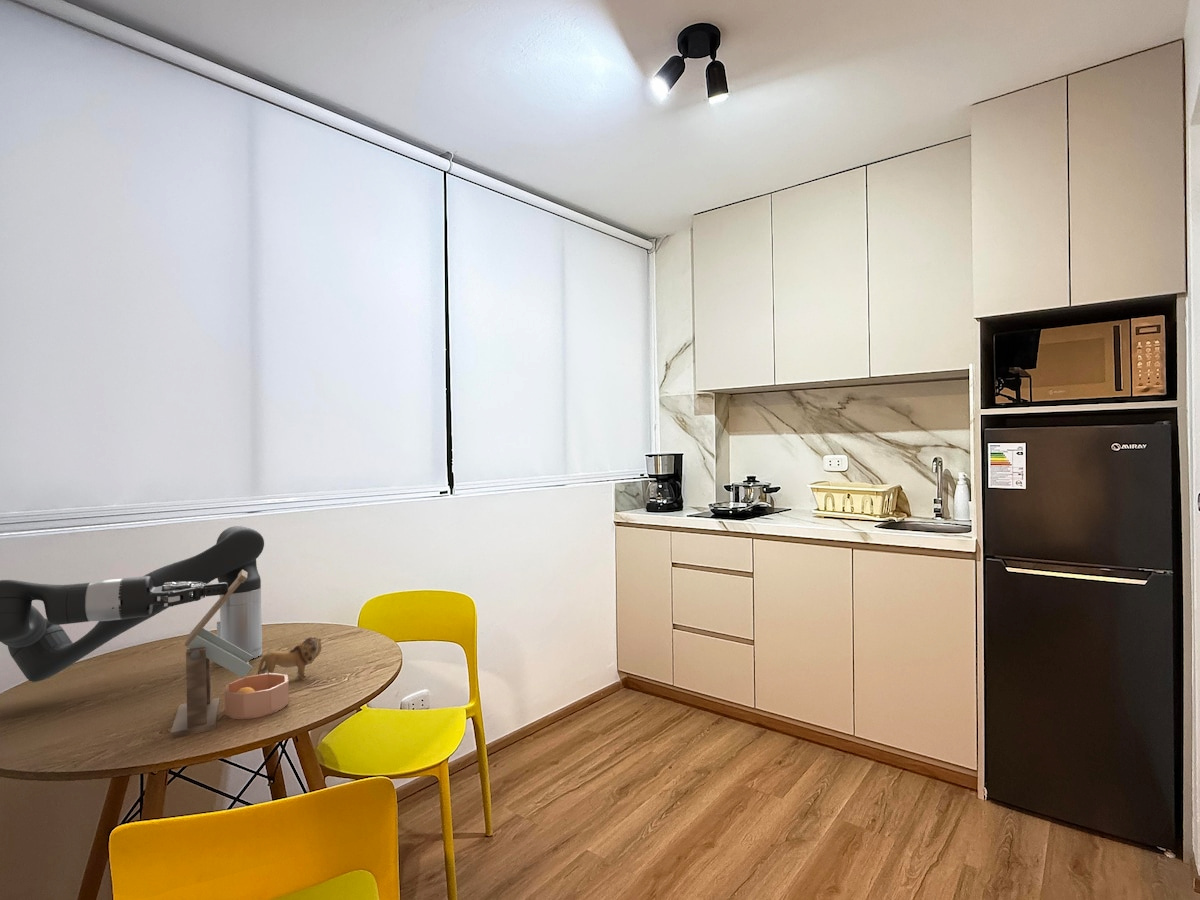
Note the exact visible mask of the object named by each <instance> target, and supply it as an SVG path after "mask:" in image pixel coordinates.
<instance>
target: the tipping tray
mask: <svg viewBox="0 0 1200 900" xmlns="http://www.w3.org/2000/svg"><path fill="white" fill-rule="evenodd" d="M247 574H248V572H246V571H244V570H243V569H242V570H241V572H240V573H239V574H238V577H237V579H236V580H235V581H234V582H233V583H232V584H231V586H230V587H229V588H228V592H227V593H226V594H225V595H222V596H221V597H220V596H219V599H217V601H216V602H215V603H213V605H212V606H211V608H210V609H209V610H208V611H207V613H206V614H205V615H204V616H203V617H202V619H201V620H200V621H199V622H198V623H197V624H196V626H194V628H193V629H192V630H191V632H189V634H188V635H187V636H186V640H185V642H184V646H186V648H188V649H194V648H201V647H206V658H208V659H209V660H210V662H213V663H215V664H217V665H218V666H220V667H222V668H225V669H226V670H227V671H230V672H232V673H234V674H235V675H237V676H238V677H241V678H244V677H247V675H248V674H249V672H251V670H252V668H253V666H252V664H250V661H251V660H252V659H251V658H252V657H253V656H252V655H251V654H249V653H247V652H245V651H244V650H242V649H240V648H238V647H236V646H235V645H233V644H231V643H229V642H228V641H226V640H224V639H222V638H221V637H219V636H217V634H215V633H214V632H212V631H210V630H209V629H206V628H205V626H207V624H208V623H209V621H211V619H212V618H213V617H214V616H215V615H216V613H217V612H218V611H220V607H221V606H222V605H223V604H224V602H225V601H226V600H227V599H228V598H229V597H230V595H231V594H232V593H233V592H234V591H235V590H236V588H237V587H238V586H239V585H240V584H241V583H244V581H245V580H246V579H247Z"/></svg>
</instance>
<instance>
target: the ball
mask: <svg viewBox="0 0 1200 900" xmlns="http://www.w3.org/2000/svg"><path fill="white" fill-rule="evenodd" d="M237 692H239V693H249V692H255V690H254V689H253V688H250V687H244V688H241V689H240V690H238V691H237Z"/></svg>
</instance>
